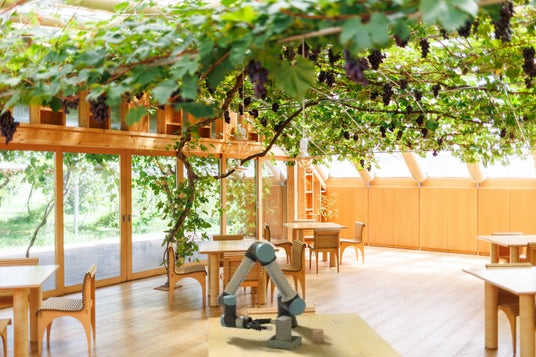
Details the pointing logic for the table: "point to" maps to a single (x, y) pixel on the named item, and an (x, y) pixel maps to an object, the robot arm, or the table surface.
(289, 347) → the bin
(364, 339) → the table surface
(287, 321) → the skincare box
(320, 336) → the peach rounded cylinder
